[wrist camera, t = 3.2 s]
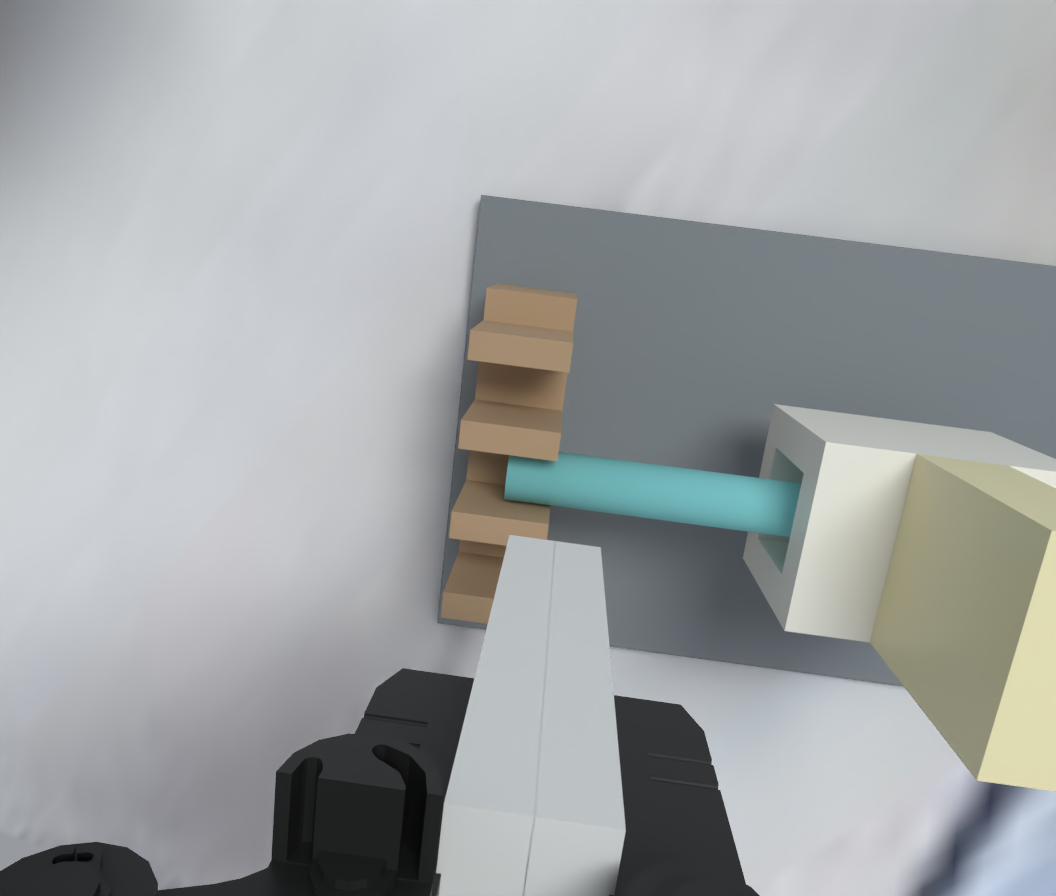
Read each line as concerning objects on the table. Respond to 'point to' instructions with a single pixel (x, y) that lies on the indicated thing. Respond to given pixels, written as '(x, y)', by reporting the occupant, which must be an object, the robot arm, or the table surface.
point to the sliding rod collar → (926, 572)
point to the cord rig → (707, 403)
